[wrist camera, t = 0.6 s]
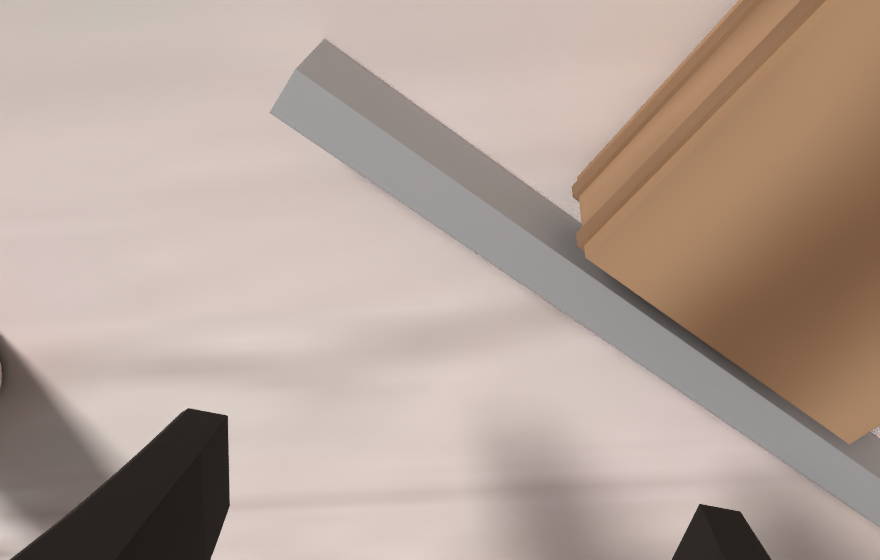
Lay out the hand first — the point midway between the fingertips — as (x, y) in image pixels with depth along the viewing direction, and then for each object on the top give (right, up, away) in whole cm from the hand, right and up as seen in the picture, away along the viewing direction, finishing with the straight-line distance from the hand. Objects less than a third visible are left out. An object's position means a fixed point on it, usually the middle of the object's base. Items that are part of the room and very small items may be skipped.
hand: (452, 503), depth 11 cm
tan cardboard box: (+9, +7, +6) cm, 13 cm away
